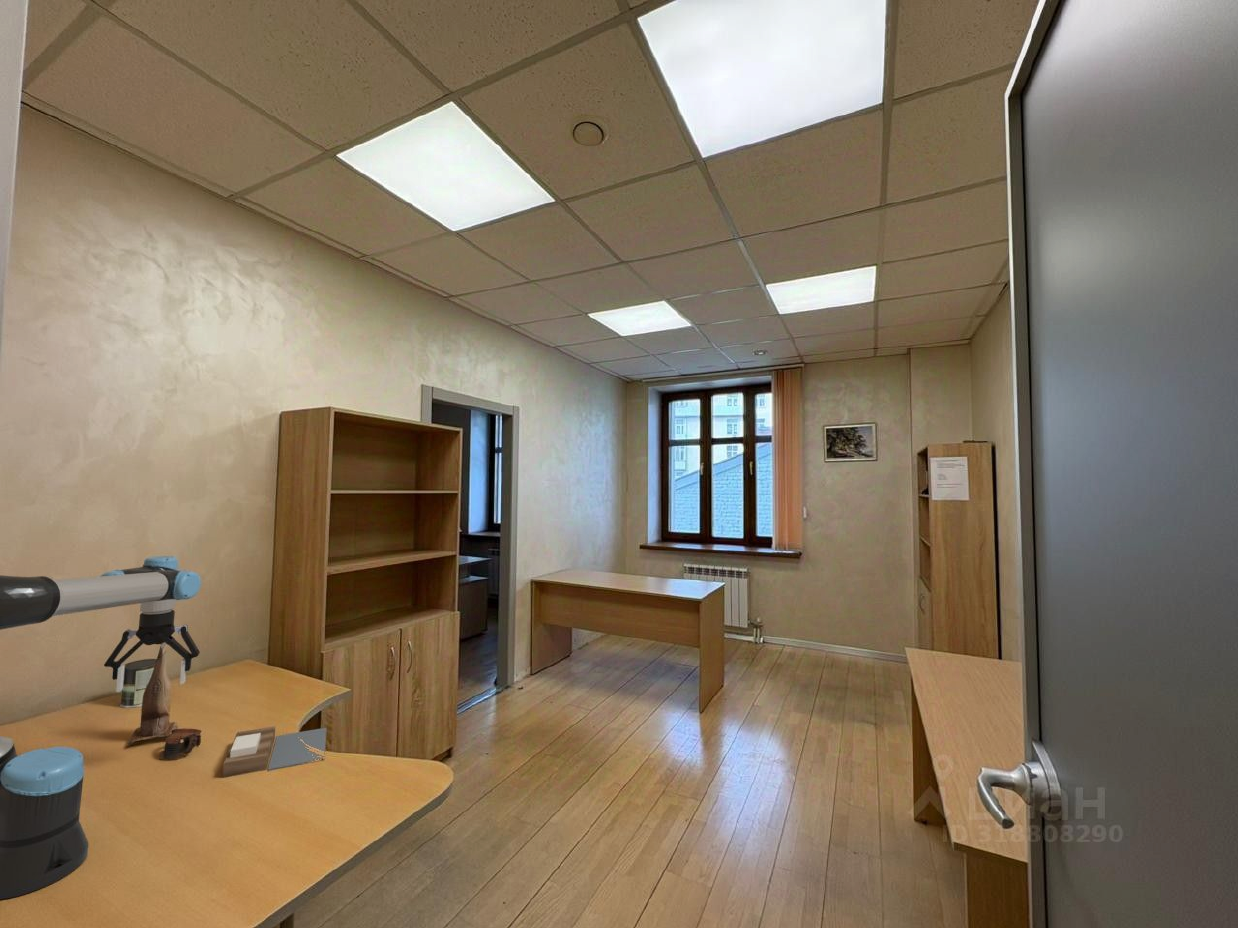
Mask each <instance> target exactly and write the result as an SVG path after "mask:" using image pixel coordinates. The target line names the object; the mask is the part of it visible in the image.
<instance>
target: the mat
mask: <svg viewBox="0 0 1238 928" xmlns="http://www.w3.org/2000/svg"><path fill="white" fill-rule="evenodd" d="M327 728H328V727H323V728H322V727H321V728H316V729H310V730H303V731H298V732H293V733H284V734H280V735H276V737H275V740H274V744H273V748H272V752H271V755H270V759H269V763H268V766H267V771H268V772H269V771H270V772H271V771H274V770H278V769H279V770H280V769H284V768H290V767H295V766H300V765H299V764H301V765H303V764H302V763H306V764H308V763H307V762H311V761H315V759H316V760H318V759H319V760H320V759H323V757H324V758H325V756H322V755H319V754H316V753H315V752H312V751H309V749H307V748H309V747H308V746H306V745H305V744H307V745H309V746H311V747H314V748H317V749H319V750H321V751H324V752H325V753H326V744H327V743H326V742H327V741H326V740H327ZM298 737H299V738H298ZM300 739H302V740H303V741H304V743H305V744H304V743H303V742H302V741H300ZM305 747H307V748H305ZM310 749H311V748H310ZM308 752H309V753H308ZM317 752H318V751H317ZM312 754H313V756H312ZM317 756H322V757H321V758H320V757H317ZM313 757H314V758H313ZM311 763H312V762H311Z"/></svg>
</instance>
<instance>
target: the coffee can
mask: <svg viewBox="0 0 1238 928" xmlns="http://www.w3.org/2000/svg"><path fill="white" fill-rule="evenodd" d="M156 660H157V658H145V659H139V660H134V661H131V662H128V663H125V664H124V665H125V668H124V680H123V689H122V690H121V691H120V693H121V694H120V704H119V705H120V708H123V709H124V708H125V709H130V708H131V709H133V708H139V707H140V708H141V707H142V700H143V694H144V691H145V689H146V687H147V685H148V683H149V681H150V679H151V676H152V673H153V670H154V666H155V663H156Z"/></svg>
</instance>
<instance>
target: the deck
mask: <svg viewBox="0 0 1238 928" xmlns="http://www.w3.org/2000/svg"><path fill="white" fill-rule="evenodd" d="M257 733H261V738H260V742H259V745H258V748H257V751H256V753H255V754H250V755H244V756H238V757H233V758H230V752H231V749H232V746H233V744H234V742H235V739H236V737H239V736H245V735H251V734H257ZM275 741H276V725H274V726H268V727H262V728H256V729H248V730H242V731H237V732H236V735H235V737H234V739H233V741H232V743H231V745H230V748H229V751H228V752H227V755H226V758H225V760H224V762H223V772H222V778H228V777H234V776H238V775H239V776H240V775H244V774H250V773H255V772H259V771H261V772H262V771H265V770H267V769H268V766H269V762H270V759H271V755H272V751H273V748H274V744H275Z"/></svg>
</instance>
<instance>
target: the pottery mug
mask: <svg viewBox="0 0 1238 928" xmlns="http://www.w3.org/2000/svg"><path fill="white" fill-rule="evenodd" d="M171 732H172V733H171V734H170V735H169V736H165V738H164V742H165V745H164V749H163V750H161V751H160V752H159V753H160V754H159V760H167V761H168V760H173V761H174V760H175V761H176V760H179V758H180V756H181V753H182V755H184V756H187V755H189V754H191V753H192V751H193V749H194V747H195V746H196V747H199V746H201V743H202V738H201V737H202V735H201V733H202V730H201V729H197V728H187V727H186V728H178V729H173V730H172V731H171ZM181 740H183V741H181Z"/></svg>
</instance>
